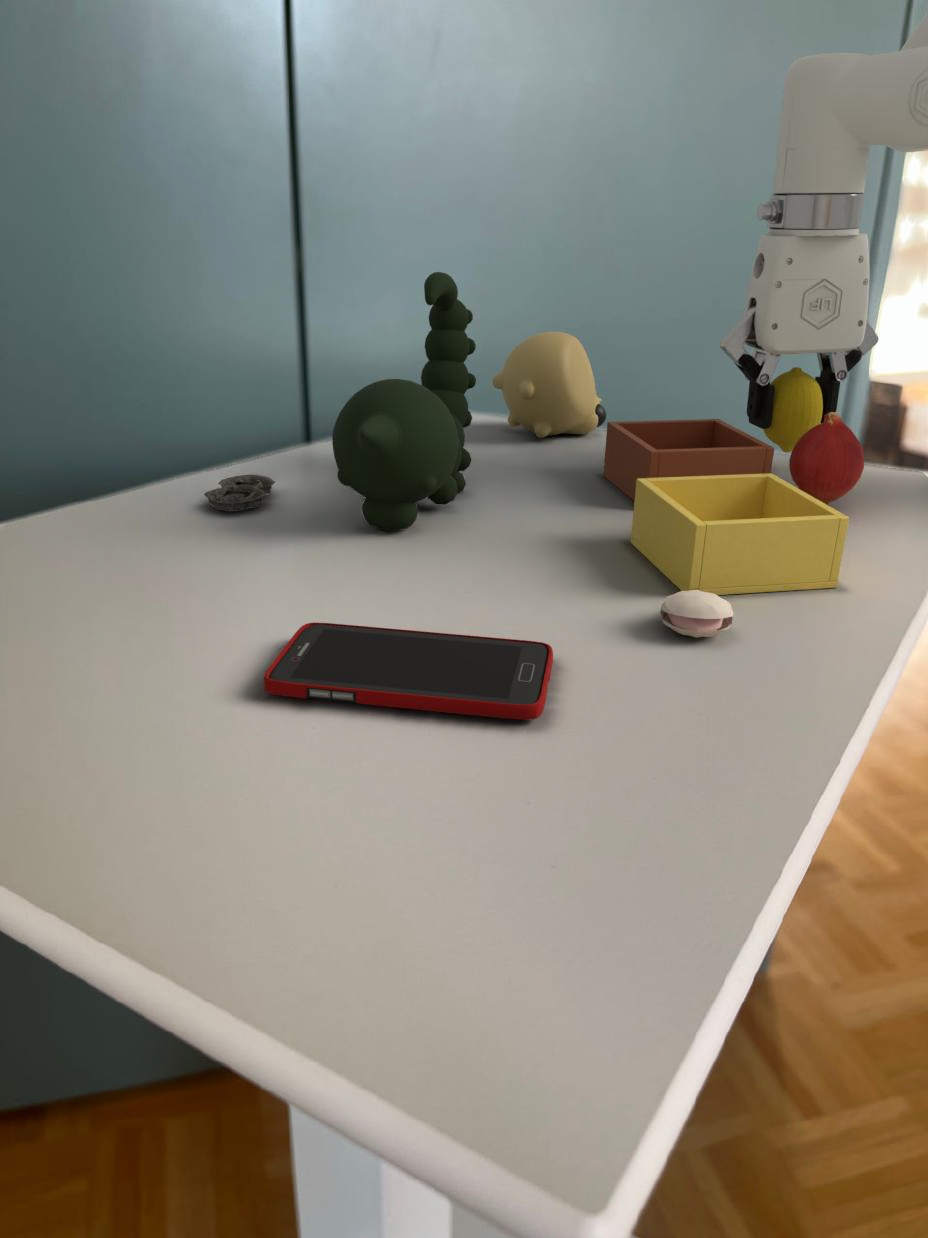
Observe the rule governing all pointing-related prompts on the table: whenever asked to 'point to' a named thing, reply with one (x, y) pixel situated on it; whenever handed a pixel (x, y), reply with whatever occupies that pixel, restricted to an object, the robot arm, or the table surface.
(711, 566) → the yellow bin
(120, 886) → the table surface
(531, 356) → the toy pig
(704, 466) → the brown bin
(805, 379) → the lemon
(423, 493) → the toy figurine
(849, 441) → the onion
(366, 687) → the cell phone
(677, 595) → the macaroon
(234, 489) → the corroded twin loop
